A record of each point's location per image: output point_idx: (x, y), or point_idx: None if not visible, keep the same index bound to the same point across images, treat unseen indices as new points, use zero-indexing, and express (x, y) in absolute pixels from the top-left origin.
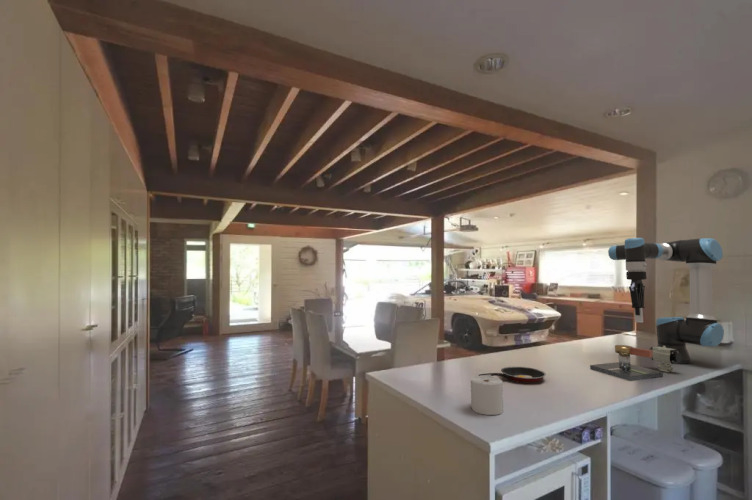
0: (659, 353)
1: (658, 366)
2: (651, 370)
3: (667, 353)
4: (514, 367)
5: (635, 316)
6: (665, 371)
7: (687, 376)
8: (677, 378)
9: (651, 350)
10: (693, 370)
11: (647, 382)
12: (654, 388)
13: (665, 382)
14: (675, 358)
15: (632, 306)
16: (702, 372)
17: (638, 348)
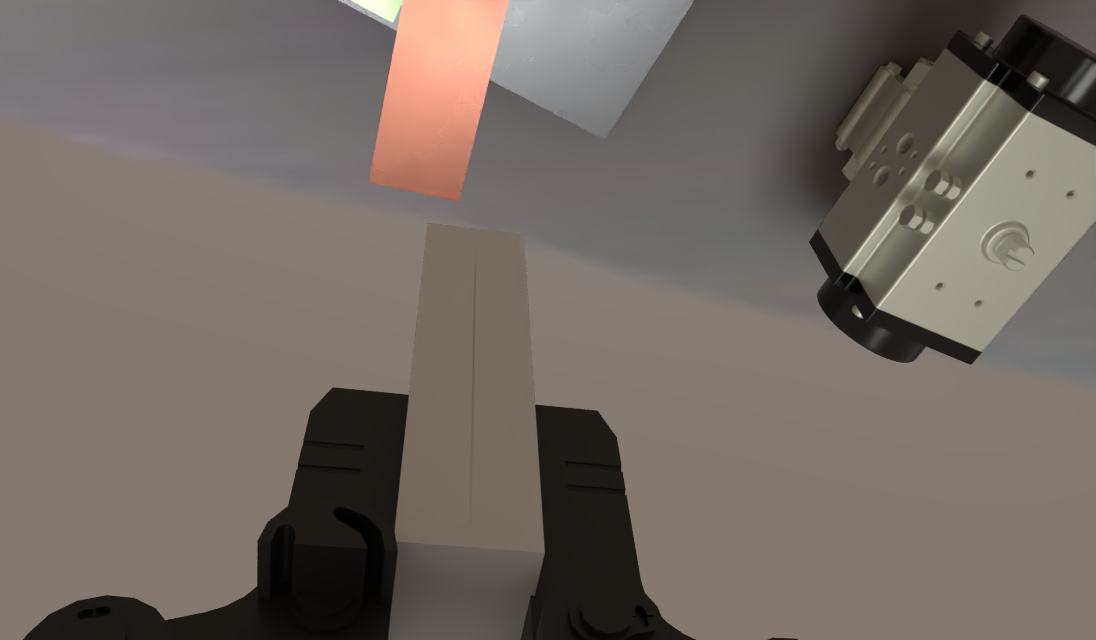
0: (913, 166)
1: (916, 68)
2: (618, 35)
3: (879, 254)
4: None
5: (418, 334)
6: (844, 119)
7: (770, 279)
8: (622, 224)
9: (429, 193)
10: (1077, 298)
11: (212, 27)
12: (22, 110)
13: (363, 160)
14: (820, 299)
15: (75, 604)
16: (1022, 354)
17: (466, 22)
